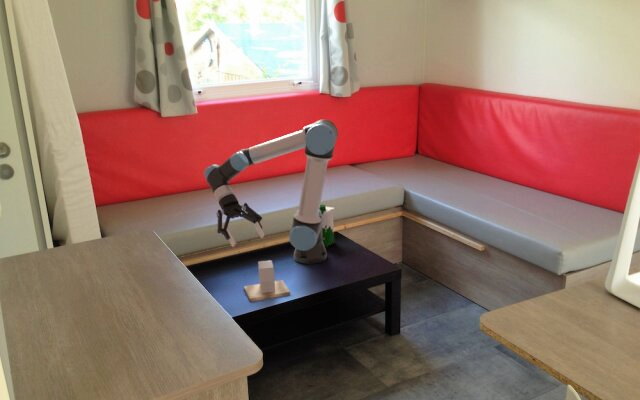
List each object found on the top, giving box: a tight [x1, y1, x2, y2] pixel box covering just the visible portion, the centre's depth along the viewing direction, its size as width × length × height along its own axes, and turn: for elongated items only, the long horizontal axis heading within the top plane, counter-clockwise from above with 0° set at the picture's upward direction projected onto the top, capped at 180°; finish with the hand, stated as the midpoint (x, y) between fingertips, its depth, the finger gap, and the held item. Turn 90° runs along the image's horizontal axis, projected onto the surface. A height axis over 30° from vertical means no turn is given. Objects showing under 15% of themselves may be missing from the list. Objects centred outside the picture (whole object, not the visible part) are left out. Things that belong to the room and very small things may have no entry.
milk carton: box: [319, 204, 335, 248], centre depth 265 cm, size 9×9×20 cm
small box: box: [257, 259, 276, 293], centre depth 217 cm, size 8×6×10 cm
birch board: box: [243, 279, 291, 303], centre depth 219 cm, size 16×12×1 cm
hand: (248, 240), depth 222 cm, fingers open, 13 cm apart
